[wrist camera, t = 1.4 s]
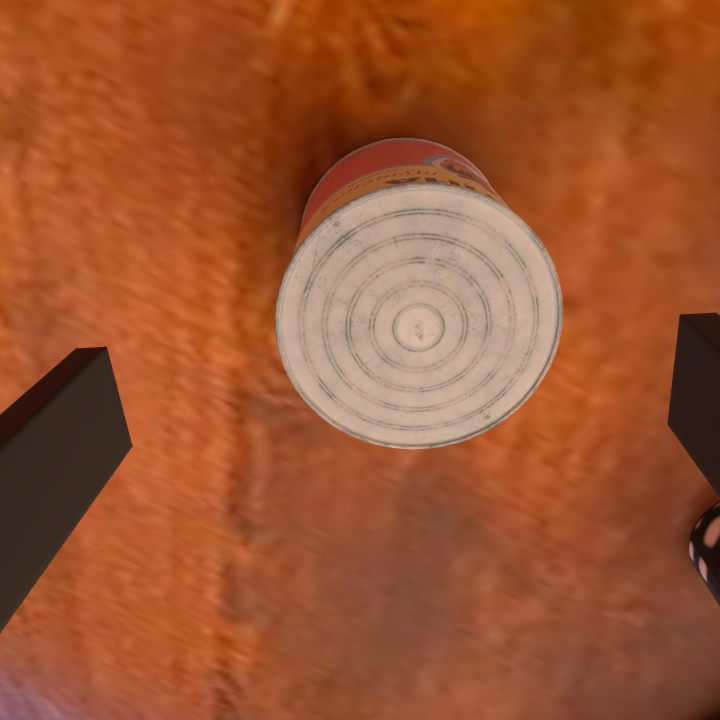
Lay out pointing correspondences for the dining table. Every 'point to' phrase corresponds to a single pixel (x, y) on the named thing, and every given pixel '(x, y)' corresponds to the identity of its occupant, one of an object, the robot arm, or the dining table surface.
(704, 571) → the white-spotted black cylinder
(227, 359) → the dining table surface
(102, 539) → the dining table surface
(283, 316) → the canned food
